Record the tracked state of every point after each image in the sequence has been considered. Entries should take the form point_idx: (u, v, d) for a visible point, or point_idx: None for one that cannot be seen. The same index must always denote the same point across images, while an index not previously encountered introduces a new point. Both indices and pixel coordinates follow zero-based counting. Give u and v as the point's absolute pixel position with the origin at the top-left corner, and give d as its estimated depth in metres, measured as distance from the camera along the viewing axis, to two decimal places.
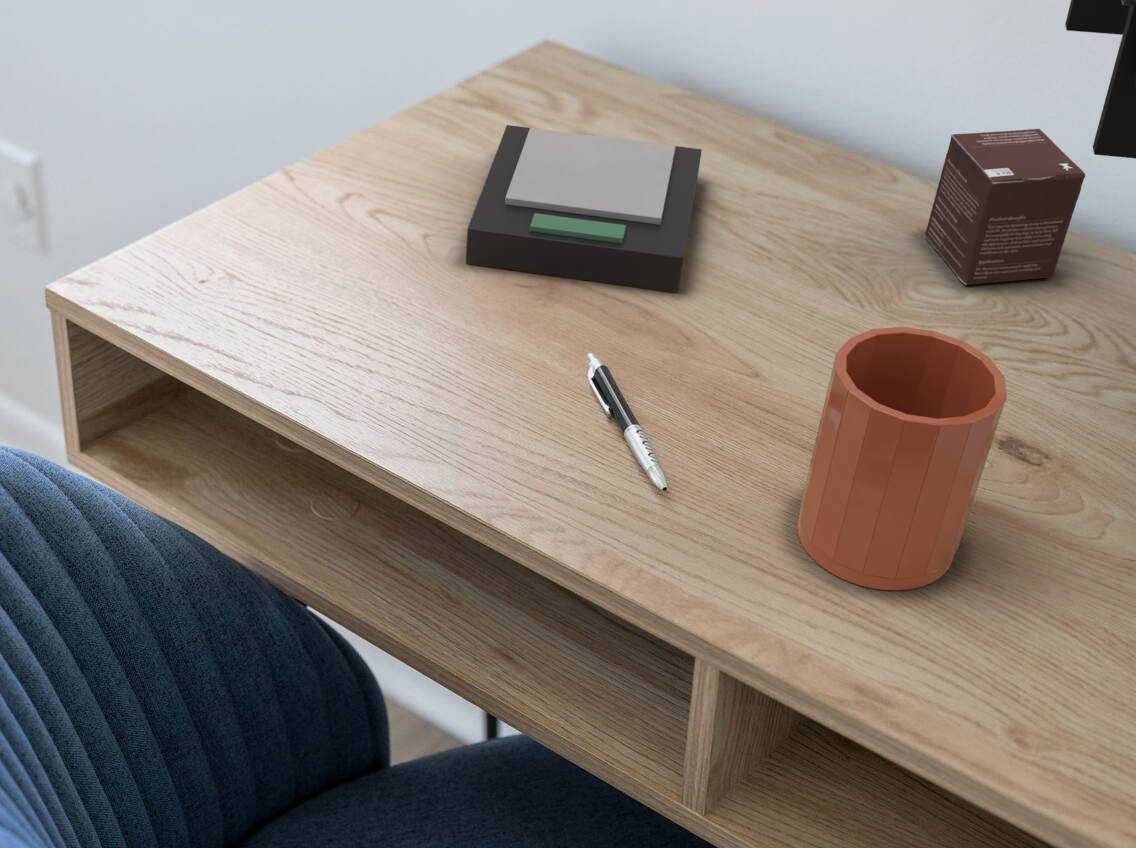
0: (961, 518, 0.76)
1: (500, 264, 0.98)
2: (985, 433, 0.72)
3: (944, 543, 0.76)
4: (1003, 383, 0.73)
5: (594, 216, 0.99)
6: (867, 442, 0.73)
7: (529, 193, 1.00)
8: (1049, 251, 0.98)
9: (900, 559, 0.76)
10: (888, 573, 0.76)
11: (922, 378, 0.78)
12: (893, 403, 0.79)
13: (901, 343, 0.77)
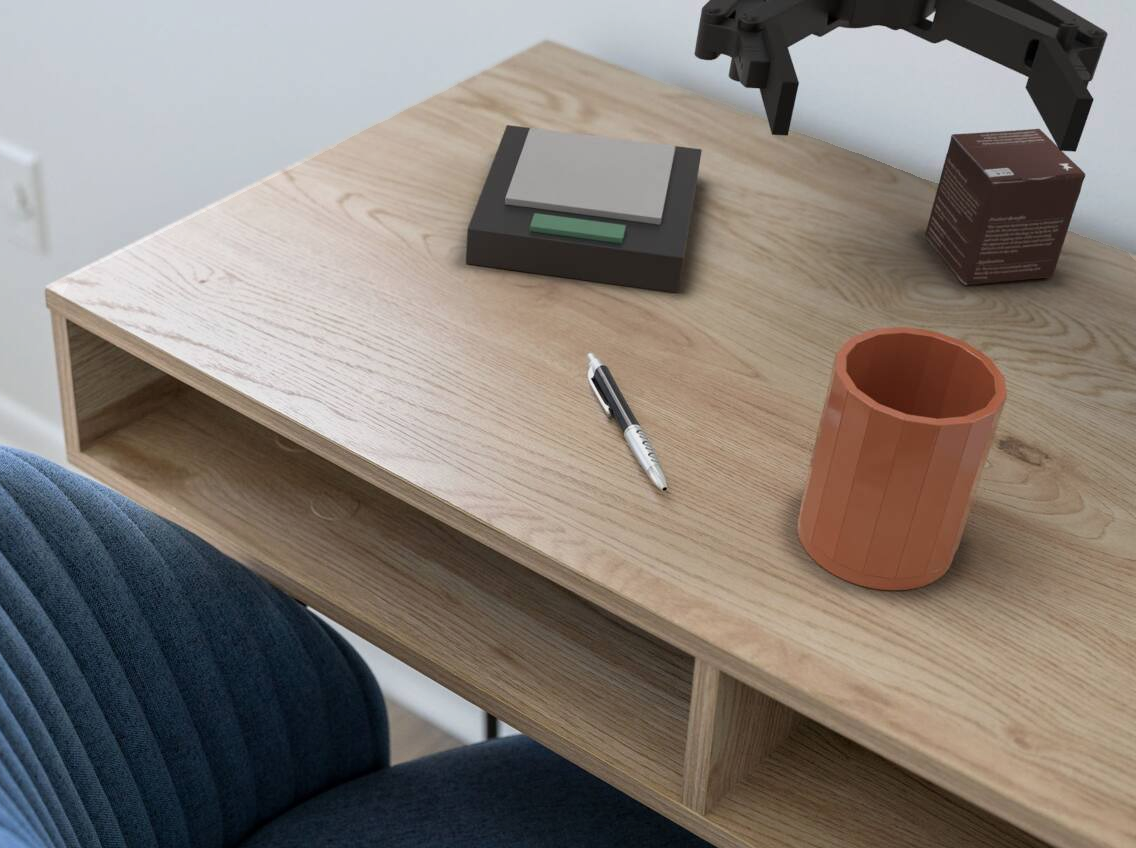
0: (961, 518, 0.76)
1: (500, 264, 0.98)
2: (985, 433, 0.72)
3: (944, 543, 0.76)
4: (1003, 383, 0.73)
5: (594, 216, 0.99)
6: (867, 442, 0.73)
7: (529, 193, 1.00)
8: (1049, 251, 0.98)
9: (900, 559, 0.76)
10: (888, 573, 0.76)
11: (922, 378, 0.78)
12: (893, 403, 0.79)
13: (901, 343, 0.77)
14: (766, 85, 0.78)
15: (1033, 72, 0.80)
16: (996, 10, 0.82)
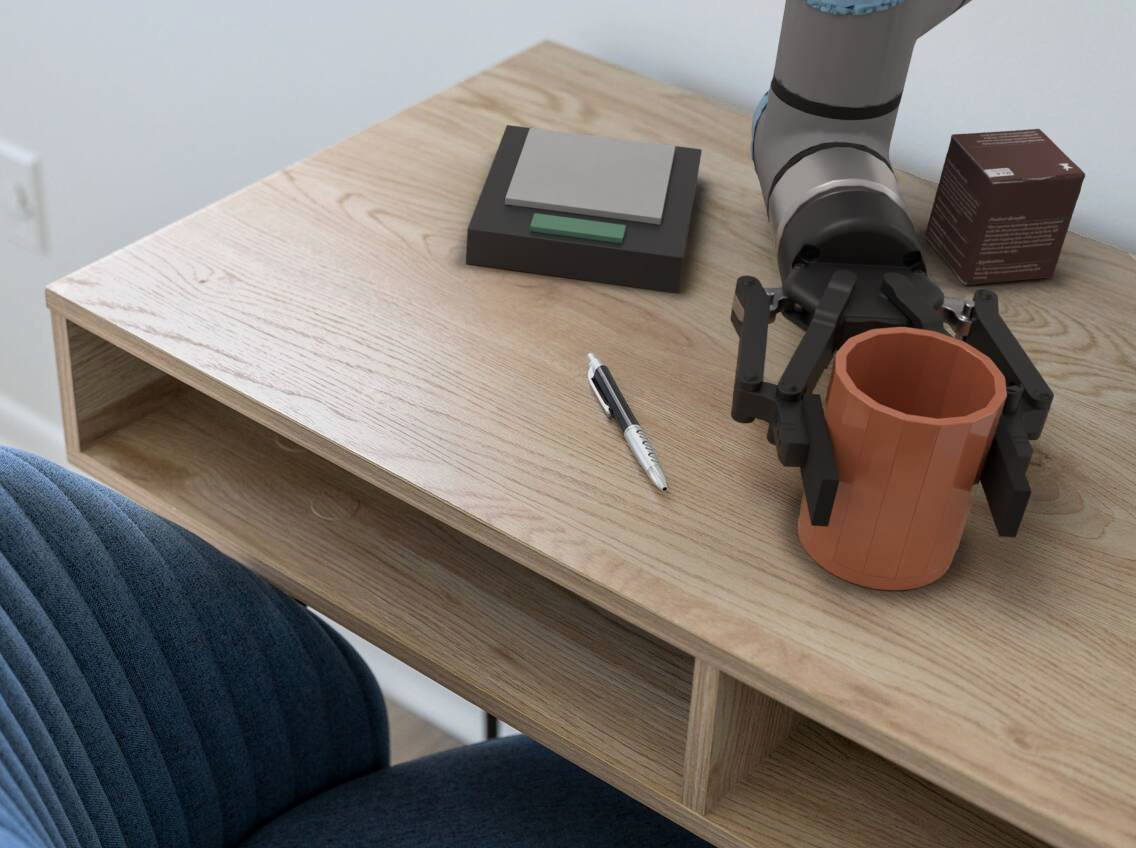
0: (961, 518, 0.76)
1: (500, 264, 0.98)
2: (985, 433, 0.72)
3: (944, 543, 0.76)
4: (1003, 383, 0.73)
5: (594, 216, 0.99)
6: (867, 442, 0.73)
7: (529, 193, 1.00)
8: (1049, 251, 0.98)
9: (900, 559, 0.76)
10: (888, 573, 0.76)
11: (922, 378, 0.78)
12: (893, 403, 0.79)
13: (901, 343, 0.77)
14: (806, 465, 0.75)
15: None
16: None
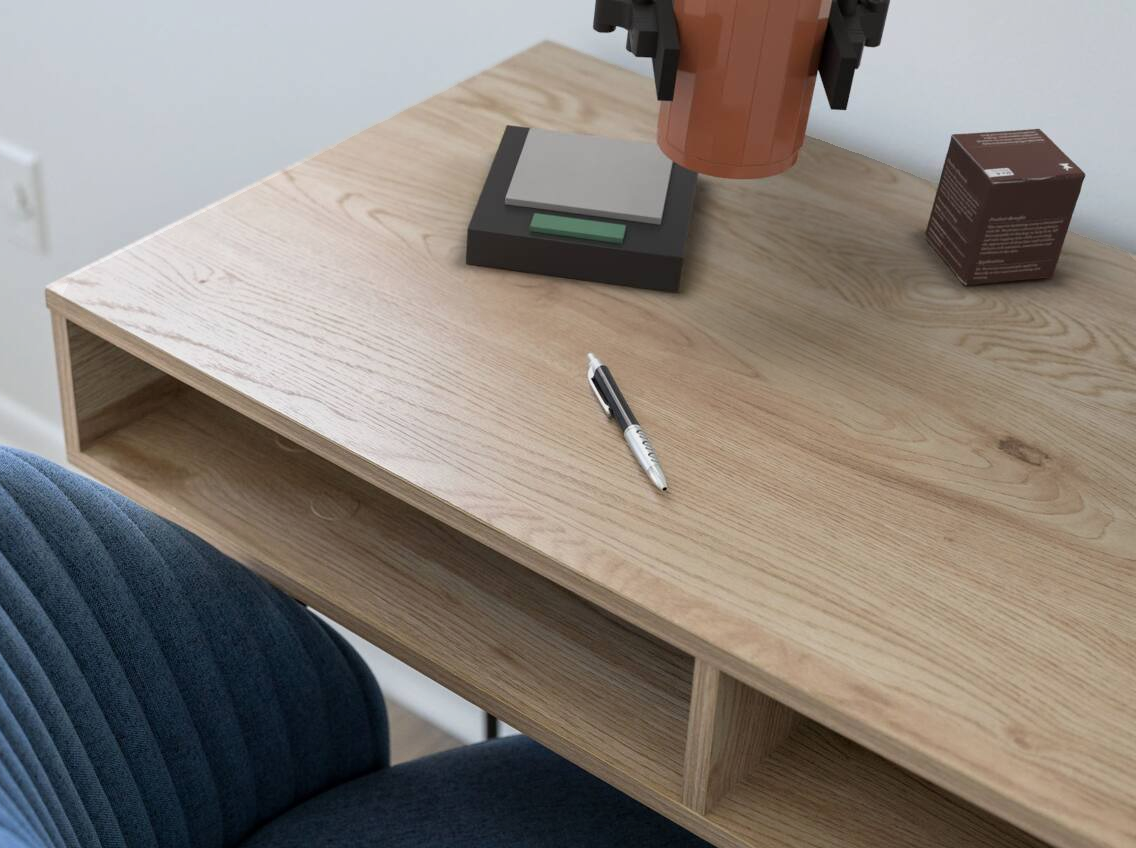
0: (800, 104, 0.81)
1: (500, 264, 0.98)
2: (816, 8, 0.78)
3: (785, 130, 0.82)
4: None
5: (594, 216, 0.99)
6: (708, 19, 0.79)
7: (529, 193, 1.00)
8: (1049, 251, 0.98)
9: (744, 144, 0.82)
10: (734, 160, 0.82)
11: None
12: None
13: None
14: (656, 54, 0.81)
15: None
16: None
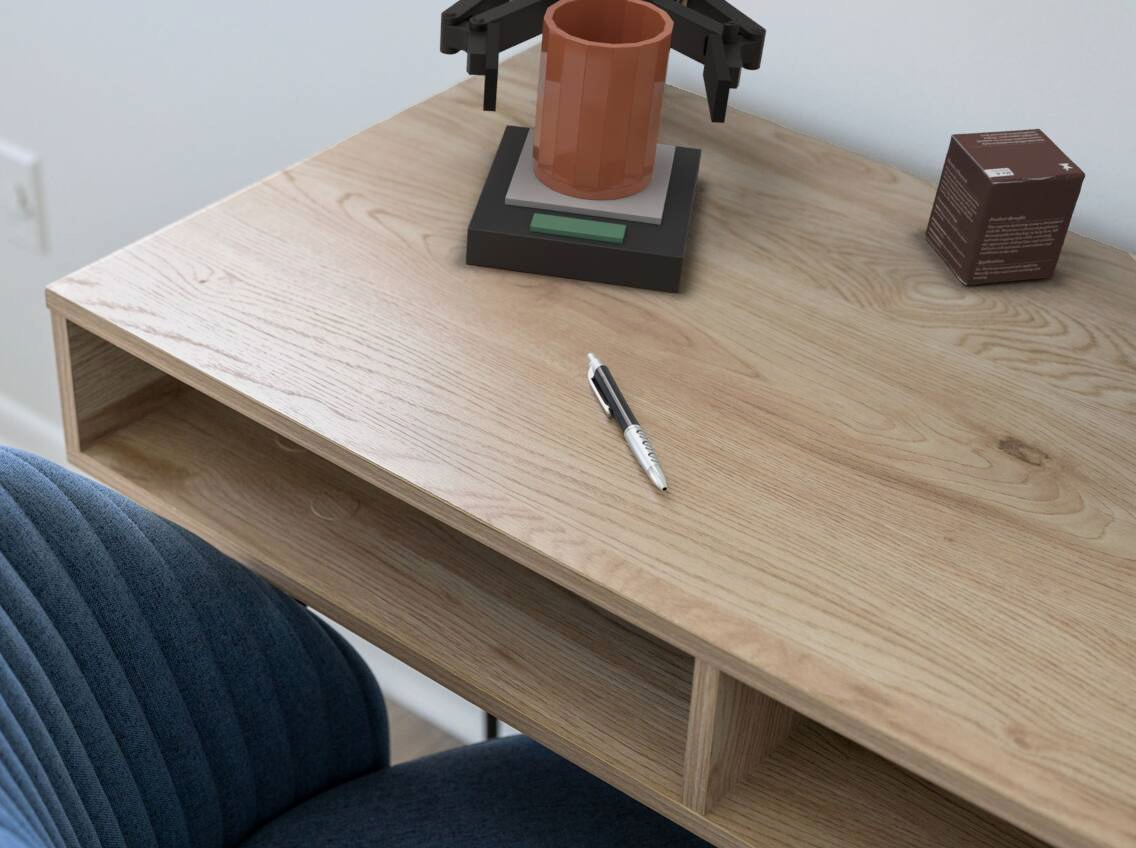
0: (646, 138, 0.98)
1: (500, 264, 0.98)
2: (653, 59, 0.94)
3: (634, 159, 0.98)
4: (671, 25, 0.96)
5: (594, 216, 0.99)
6: (565, 68, 0.95)
7: (529, 193, 1.00)
8: (1049, 251, 0.98)
9: (600, 171, 0.98)
10: (592, 184, 0.99)
11: (622, 37, 1.00)
12: None
13: (604, 8, 0.99)
14: (485, 72, 0.98)
15: (705, 62, 1.00)
16: (682, 13, 1.02)
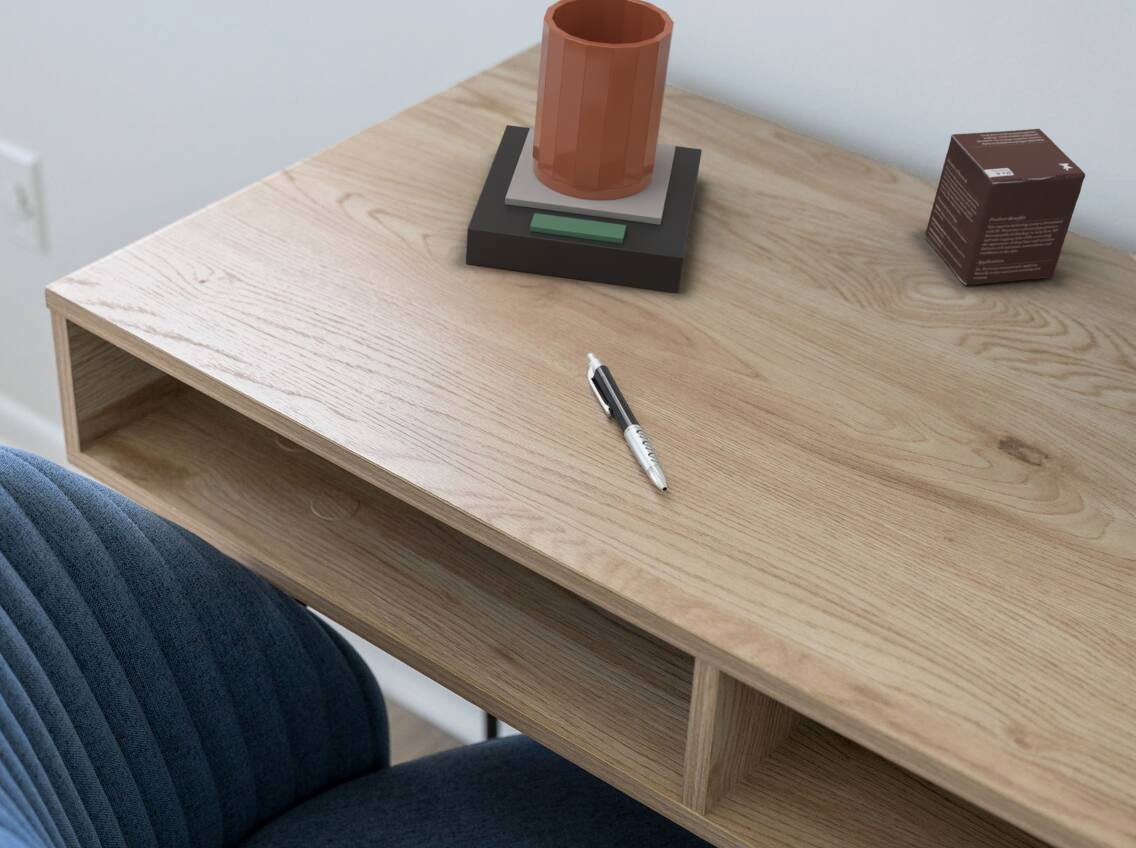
0: (646, 138, 0.98)
1: (500, 264, 0.98)
2: (653, 59, 0.94)
3: (634, 159, 0.98)
4: (671, 25, 0.96)
5: (594, 216, 0.99)
6: (565, 68, 0.95)
7: (529, 193, 1.00)
8: (1049, 251, 0.98)
9: (600, 171, 0.98)
10: (592, 184, 0.99)
11: (622, 37, 1.00)
12: None
13: (604, 8, 0.99)
14: None
15: None
16: None
